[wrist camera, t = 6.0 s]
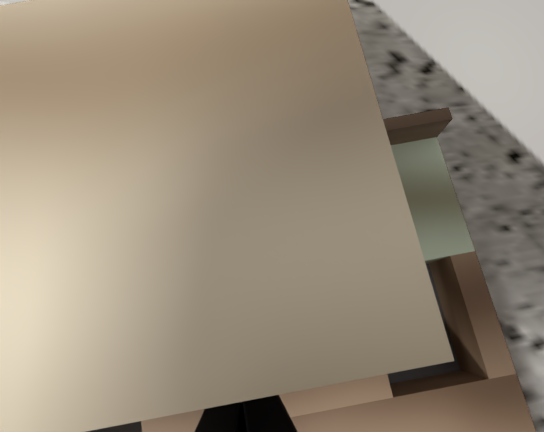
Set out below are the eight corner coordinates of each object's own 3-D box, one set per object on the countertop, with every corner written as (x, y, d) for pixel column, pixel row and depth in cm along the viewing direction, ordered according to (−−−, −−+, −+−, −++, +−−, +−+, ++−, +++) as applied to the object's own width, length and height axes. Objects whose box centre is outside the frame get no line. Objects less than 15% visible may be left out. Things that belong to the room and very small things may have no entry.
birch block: (334, 328, 14) (454, 360, 4) (176, 358, 14) (-95, 465, 4) (302, 180, 15) (331, -53, 6) (160, 206, 15) (-59, 16, 5)
